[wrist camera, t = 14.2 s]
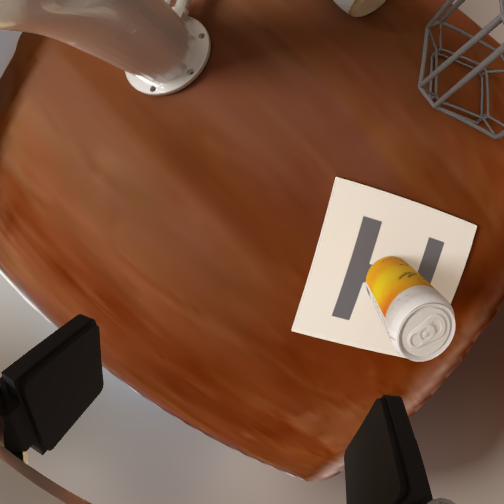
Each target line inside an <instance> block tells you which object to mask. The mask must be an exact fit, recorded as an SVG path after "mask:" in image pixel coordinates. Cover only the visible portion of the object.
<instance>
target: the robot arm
mask: <svg viewBox="0 0 504 504" xmlns="http://www.w3.org/2000/svg"><path fill="white" fill-rule="evenodd" d="M172 2H173V0H0V30H8V31H21V32H29V33H35V34H40V35H44V36H47V37H50V38H53V39H56V40H59V41H61V42H64V43H66V44H69V45H71V46H73V47H76V48H78V49H80V50H82V51H84V52H87V53H89V54H91V55H93V56H95V57H97V58H100V59H102V60H104V61H106V62H108V63H110V64H112V65H114V66H116V67H118V68H120V69H122V70H124V71H125V73H126V76H127V79H128V81H129V82H130V84H131V85H132V86H133V87H134V88H135V89H136V90H138V91H140V92H142V93H145V94H147V95H152V96H164V95H168V94H172V93H175V92H177V91H179V90H181V89H183V88H185V87H186V86H188V85H189V84H190V83H191V82H193V81H194V80H195V79H196V78H197V77H198V76H199V74H200V73H201V72H202V70H203V69H204V67H205V66H206V64H207V61H208V59H209V56H210V51H211V41H210V37H209V34H208V32H207V30H206V29H205V27H204V26H203V25H202V24H201V23H200V22H199V21H197V20H196V19H194V18H192V17H189V16H188V13H189V10H187V8H188V6H189V4H190V2H191V0H176V5H175V7H172V8H171V4H172ZM203 37H204V38H203ZM192 73H193V74H192ZM191 74H192V75H191ZM155 89H156V90H155ZM1 373H2V377H1V378H0V504H91V503H89V502H87V501H85V500H83V499H82V498H80V497H78V496H76V495H74V494H73V493H71V492H69V491H67V490H66V489H64V488H62V487H61V486H59V485H58V484H56V483H54V482H53V481H51V480H50V479H48V478H46V477H45V476H43V475H42V474H40V473H39V472H37V471H36V470H35V469H33V468H31V467H30V466H29V465H28V458H27V450H28V449H29V448H30V447H31V448H33V449H34V450H36V451H37V452H39V453H40V454H42V455H43V454H44V453H45V452H46V451H47V450H52V449H53V448H54V447H55V446H56V445H57V443H58V442H59V441H60V440H61V439H62V437H63V436H64V435H65V434H66V433H67V431H68V430H69V429H70V428H71V426H72V425H73V424H74V423H75V422H76V421H77V420H78V418H79V417H80V416H81V415H82V414H83V412H84V411H85V410H86V409H87V408H88V407H89V405H90V404H91V403H92V402H93V401H94V399H95V398H96V397H97V396H98V395H99V394H100V392H101V391H102V388H103V375H102V363H101V350H100V333H99V327H98V326H97V325H96V322H95V320H94V319H91V318H89V317H86V316H84V315H82V314H79V315H77V316H76V317H74V318H73V319H72V320H70V321H69V322H67V323H66V324H65V325H63V326H62V327H61V328H59V329H58V330H57V331H55V332H54V333H53V334H51V335H50V336H49V337H47V338H46V339H44V340H43V341H42V342H41V343H39V344H38V345H37V346H35V347H34V348H32V349H31V350H30V351H28V352H27V353H26V354H25V355H23V356H22V357H21V358H19V359H18V360H17V361H15V362H14V363H13V364H12V365H10V366H9V367H8V368H7V369H5V370H4V371H3V372H1ZM344 463H345V479H346V498H347V504H455V503H454V502H452V501H451V500H448V499H445V498H437V499H432V494H431V490H430V486H429V483H428V479H427V475H426V472H425V468H424V465H423V461H422V458H421V454H420V451H419V448H418V444H417V441H416V439H415V437H414V433H413V430H412V427H411V424H410V421H409V418H408V415H407V412H406V409H405V406H404V403H403V400H402V398H401V397H400V396H391V395H383V396H382V397H381V399H380V398H378V399H376V401H375V402H374V404H373V406H372V408H371V409H370V411H369V413H368V415H367V416H366V418H365V420H364V421H363V423H362V425H361V426H360V428H359V430H358V431H357V433H356V435H355V436H354V438H353V439H352V441H351V443H350V444H349V446H348V447H347V449H346V451H345V455H344Z"/></svg>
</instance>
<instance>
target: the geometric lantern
mask: <svg viewBox="0 0 504 504" xmlns="http://www.w3.org/2000/svg"><path fill="white" fill-rule="evenodd" d="M453 1H454V0H447V1H446V3H445V4H444V5H443V6H442V7H441V8H440V10H439V11H438V12H437V13H436V14H435V16H434V17H433V18H432V19H431V20H430V21H429V23H428V24H427V25H426V26H425V34H424V43H423V52H422V60H421V68H420V75H419V81H418V89H419V90H420V92H421V93H422V94H423V96H424V97H425V98H426V99H427V101H428V102H429V103H430V105H431V106H432V107H433V108H434V109H437V110H439V111H441V112H443V113H445V114H447V115H450V116H452V117H454V118H456V119H458V120H460V121H462V122H464V123H466V124H468V125H470V126H472V127H473V128H475V129H477V130H479V131H481V132H483V133H484V134H486V135H488V136H490V137H492V138H493V139H495V140H496V139H499V138H501V137H503V136H504V130H502V131H501V132H499V133H498V134H495V133H494V131H493V130H492V128H491V127H490V125H489V124H488V122H487V121H486V120H485V119H487V118H489V119H491V120H493V121H495V122H496V123H498V124H500V125H501V126H503V127H504V124H503V123H501V122H500V121H498V120H496V119H495V118H493V117H491V116H489V84H488V73H496V72H504V69H500V70H488V71H487V70H486V67H487V66H488V65H489V64H490V63H492V62H493V61H494V60H495V59H497V58H498V57H499V56H500V57H501V59H502V60H503V62H504V56H503V53H504V43H503V44H502V45H501V46H499V47H498V48H497V49H496V48H494V47H492V46H491V45H489V44H487V43H485V42H483V41H482V40H481V39H482V38H483V37H485V36H486V35H487V34H488V33H489V32H490V31H492V30H493V29H494V28H495V27H497V26H498V25H499V24H500V23H501V22H503V24H504V0H499V2H500V10H501V14H500V15H499V16H497V17H496V18H495V19H494V20H493V21H491V22H490V23H489V24H488V25H487V26H485V27H484V28H483V29H482V30H481V31H479V32H478V33H477V34H476V35H475V36H472V35H470V34H469V33H467V32H465V31H463V30H461V29H459V28H457V27H454V26H452V25H450V24H448V23H446V22H444V21H445V20H446V19H447V18H448V17H449V16H450V15H451V14H452V13H453V12H454V11H455V10H456V9H457V8H458V7H459V6H460V5H461V4H462V3H463V2H464V1H465V0H458V1H457V2H456V3H455V4H454V5H453V6H452V7H451V8H450V9H449V10H448V11H447V12H446V13H445V14H444V15H443V17H442V18H441V19H440V20H437V19H438V18H439V17H440V16H441V15H442V14H443V13H444V11H445V10H446V9H447V8H448V7H449V6H450V5H451V4H452V2H453ZM436 20H437V21H436ZM438 24H439V48H437V47H436V44H435V41H434V39H433V36H432V33H431V31H430V28H431V27H433V26H435V25H438ZM442 25H444V26H446V27H448V28H451V29H453V30H455V31H457V32H459V33H461V34H463V35H465V36H467V37H469V38H471V39H470V40H469V41H468V42H467V43H465V44H464V45H463V46H462V47H461V48H460V49H458V50H457V51H456V52H455V53H454V52H452V51H449V50H446V49H443V48H442ZM429 35H430V38H431V41H432V43H433V46H434V49H435V51H434V52H433V53H432V55H431V56H430V75H428V76H427V77H426V78H425V79H424V72H425V65H426V56H427V48H428V38H429ZM477 42H478V43H480V44H482V45H484V46H486V47H487V48H489V49H491V50H493V51H494V52H492V53H491V54H490V55H489V56H488V57H487V58H485V59H484V60H483V61H482V62H481V63H478V62H476V61H474V60H471V59H469V58H467V57H464V56H462V54H464V53H465V52H466V51H467V50H469V49H470V48H471V47H472V46H473V45H475V44H476V43H477ZM441 50H442V51H445V52H447V53H450V54H453V55H451V56H450V57H449V56H446V55H444V54H441V53H439V52H440V51H441ZM438 55H440V56H442V57H445V58H447V60H446V61H445V62H443V63H442V64H441V65H440V66H439V67H438ZM434 57H435V70H434V71H433V58H434ZM459 57H460V58H463V59H465V60H468V61H470V62H472V63H475V64H477V66H476V67H475V68H474V67H472V66H470V65H468V64H465V63H463V62H461V61H458V60H456V59H457V58H459ZM454 61H455V62H457V63H459V64H462V65H464V66H466V67H469V68H471V69H473V70H472V71H470V72H469V73H468V74H467V75H466V76H465V77H464V78H462V79H461V80H460V81H459V82H458V83H457V84H455V85H454V86H453V87H452V88H451V89H450V90H449V91H447V92H446V93H445V94H444V95H443V96H442V97H441V98H439V97H438V96H437V90H438V74H439V73H440V72H442V71H443V70H444V69H445V68H446V67H448V66H449V65H450V64H451V63H453V62H454ZM483 69H484V71H485V72H484V73H482V74H481V73H480V72H481V71H482V70H483ZM477 74H479V75H480V77H481V109H480V115H477V114H475V113H473V112H470V111H468V110H465V109H463V108H460V107H458V106H455V105H453V104H450V103H447V102H444V101H445V100H446V99H447V98H449V97H450V96H451V95H452V94H454V93H455V92H456V91H457V90H458V89H460V88H461V87H462V86H463V85H465V84H466V83H467V82H468V81H470V80H471V79H472V78H473V77H474V76H476V75H477ZM484 75H486V94H487V114H485V115H483V76H484ZM434 77H435V93H433V92H432V79H433V78H434ZM423 79H424V80H423ZM429 81H430V84H429V90H427V89H425V88H423V86H425V85H426V84H427V83H428V82H429ZM427 93H428V94H429V95H428V94H427ZM431 96H432V97H431ZM434 98H436V99H437V101H436V102H435V103H434V102H433V99H434ZM441 104H445V105H447V106H450V107H453V108H455V109H458V110H460V111H463V112H466V113H468V114H470V115H473V116H475V117H478V118H479V119H478V120H477V122H476V121H474V120H472V119H469V118H467V117H465V116H462V115H460V114H457V113H455V112H452V111H449V110H447V109H445V108H443V107H440V105H441ZM482 120H483V121H484V122H485V124H486V125H487V127H488V128H489V130H490V131H491V132H489V131H487V130H486V129H484V128H482V127H480V126H478V125H477V124H478V123H479V122H480V121H482Z"/></svg>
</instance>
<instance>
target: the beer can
mask: <svg viewBox="0 0 504 504" xmlns="http://www.w3.org/2000/svg"><path fill="white" fill-rule="evenodd" d="M365 284H366V289H367V292H368V294H369V296H370V298H371V300H372V302H373V304H374V306H375V309H376V311H377V313H378V315H379V317H380V319H381V321H382V323H383V326H384V328H385V330H386V332H387V334H388V336H389V339H390V341H391V343H392V345H393V347H394V349H395V350H396V351H397V352H398V353H399V354H400V355H402V356H404V357H406V358H408V359H409V360H412V361H417V362H422V361H428V360H431V359H433V358H435V357H437V356H438V355H440V354H441V353H442V352H443V351H444V350H445V349H446V348H447V347H448V346H449V344H450V342H451V341H452V339H453V336H454V333H455V326H456V325H455V318H454V311H453V308H452V306H451V304H450V303H449V302H448V301H447V300H446V299H445V298H444V297H443V296H442V295H441V294H440V293H439V292H438V291H437V290H436V289H435V288H434V287H433V286H432V285H431V284H430V283H428V282H427V281H426V280H425V279H424V278H423V277H422V276H421V275H420V274H419V273H418V272H417V271H415V270H414V269H413V268H412V267H411V266H410V265H409V264H408V263H406V262H405V261H404V260H403V259H401V258H399V257H395V256H387V257H383V258H381V259H379V260H377V261H376V262H375V263H374V264H373V265H372V266H371V267H370V269H369V271H368V273H367V276H366V282H365Z"/></svg>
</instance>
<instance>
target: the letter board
mask: <svg viewBox="0 0 504 504" xmlns="http://www.w3.org/2000/svg"><path fill="white" fill-rule="evenodd" d="M476 228H477V225H474V224H472V223H469V222H467V221H464V220H462V219H459V218H457V217H454V216H452V215H449V214H447V213H444V212H441V211H439V210H436V209H433V208H431V207H428V206H425V205H422V204H420V203H417V202H414V201H411V200H408V199H405V198H402V197H400V196H397V195H394V194H391V193H388V192H384V191H381V190H378V189H375V188H372V187H369V186H366V185H362V184H359V183H356V182H352V181H349V180H346V179H342V178H339V177H335V181H334V185H333V189H332V193H331V197H330V201H329V204H328V208H327V212H326V216H325V219H324V223H323V227H322V230H321V234H320V237H319V241H318V244H317V248H316V251H315V255H314V258H313V262H312V265H311V269H310V272H309V275H308V279H307V282H306V285H305V288H304V292H303V295H302V298H301V301H300V304H299V308H298V311H297V314H296V317H295V320H294V323H293V326H292V331H294V332H297V333H301V334H305V335H309V336H313V337H317V338H321V339H325V340H329V341H333V342H337V343H341V344H345V345H349V346H353V347H358V348H362V349H366V350H371V351H375V352H380V353H384V354H389V355H394V356H399V357H404V356H402V355H400V354H399V353H398V352H397V351H396V350H395V349H394V347H393V345H392V343H391V341H390V339H389V336H388V334H387V332H386V330H385V328H384V326H383V323H382V321H381V319H380V317H379V315H378V313H377V311H376V309H375V306H374V304H373V302H372V300H371V298H370V296H369V294H368V292H367V289H366V284H365V282H366V276H367V273H368V271H369V269H370V267H371V266H372V265H373V264H374V263H375V262H376V261H377V260H379V259H381V258H383V257H387V256H395V257H399V258H401V259H403V260H404V261H405V262H406V263H408V264H409V265H410V266H411V267H412V268H413V269H414V270H415V271H417V272H418V273H419V274H420V275H421V276H422V277H423V278H424V279H425V280H426V281H427V282H428V283H430V284H431V285H432V286H433V287H434V288H435V289H436V290H437V291H438V292H439V293H440V294H441V295H442V296H443V297H444V298H445V299H446V300H447V301H448V302H449V303H450V304H451V302H452V299H453V297H454V294H455V292H456V289H457V286H458V284H459V281H460V278H461V276H462V273H463V270H464V267H465V264H466V261H467V258H468V255H469V252H470V249H471V245H472V242H473V239H474V235H475V232H476ZM404 358H406V357H404Z"/></svg>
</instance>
